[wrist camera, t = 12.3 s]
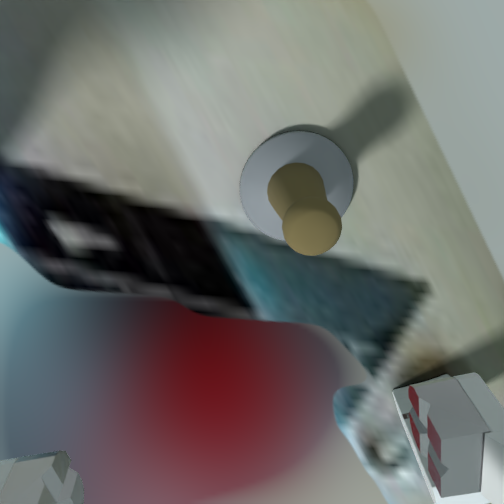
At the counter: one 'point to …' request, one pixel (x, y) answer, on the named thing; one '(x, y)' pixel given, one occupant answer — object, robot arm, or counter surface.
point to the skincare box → (459, 503)
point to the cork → (304, 209)
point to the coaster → (286, 152)
